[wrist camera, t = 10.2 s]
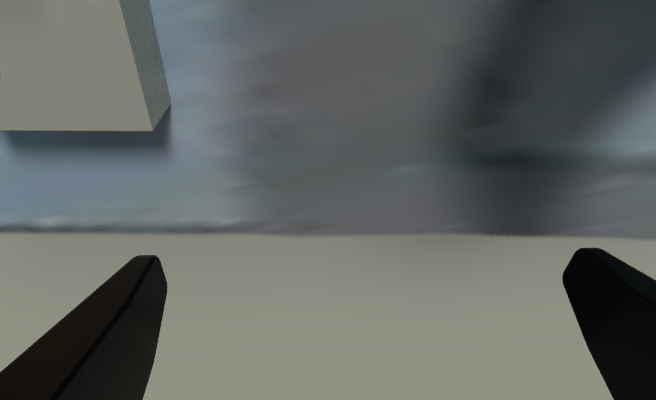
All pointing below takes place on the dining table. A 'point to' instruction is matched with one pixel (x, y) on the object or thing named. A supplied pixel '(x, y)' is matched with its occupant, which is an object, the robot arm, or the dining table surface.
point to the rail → (80, 66)
